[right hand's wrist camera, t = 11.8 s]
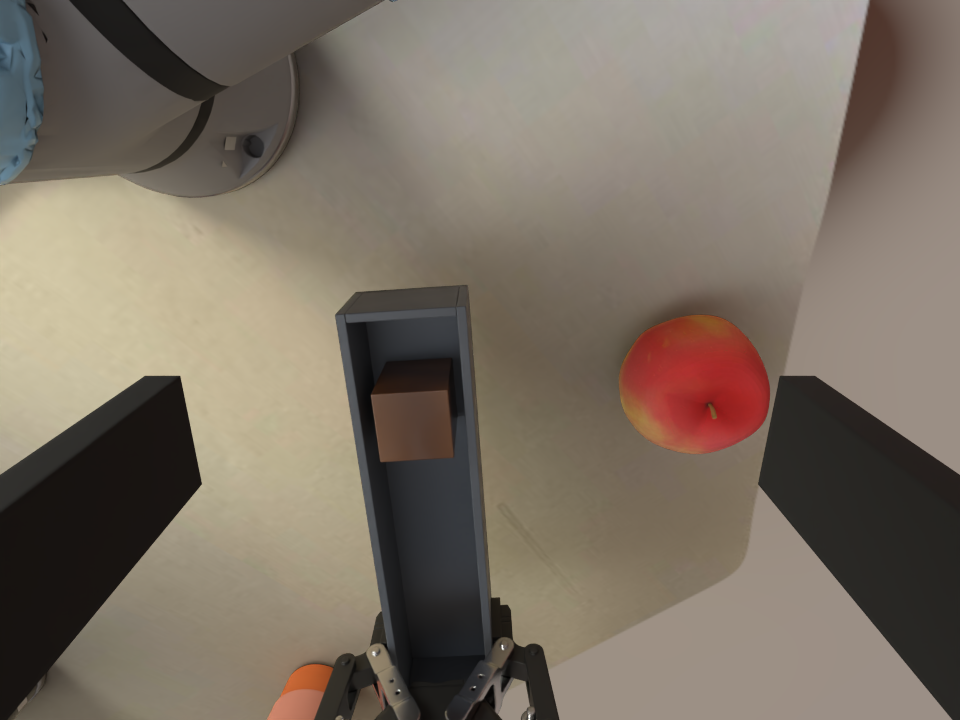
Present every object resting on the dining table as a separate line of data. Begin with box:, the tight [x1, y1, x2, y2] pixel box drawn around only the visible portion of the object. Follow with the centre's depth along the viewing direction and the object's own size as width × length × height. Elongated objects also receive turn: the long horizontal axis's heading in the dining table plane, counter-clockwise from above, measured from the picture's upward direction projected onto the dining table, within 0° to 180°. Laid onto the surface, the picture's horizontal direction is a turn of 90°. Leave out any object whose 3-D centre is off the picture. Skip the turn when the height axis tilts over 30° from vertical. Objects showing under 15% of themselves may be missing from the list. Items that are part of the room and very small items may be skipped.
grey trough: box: [335, 285, 493, 688], centre depth 35 cm, size 7×28×5 cm, turn 4°
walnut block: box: [371, 358, 457, 462], centre depth 32 cm, size 4×4×5 cm
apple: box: [619, 315, 770, 454], centre depth 40 cm, size 10×10×10 cm
